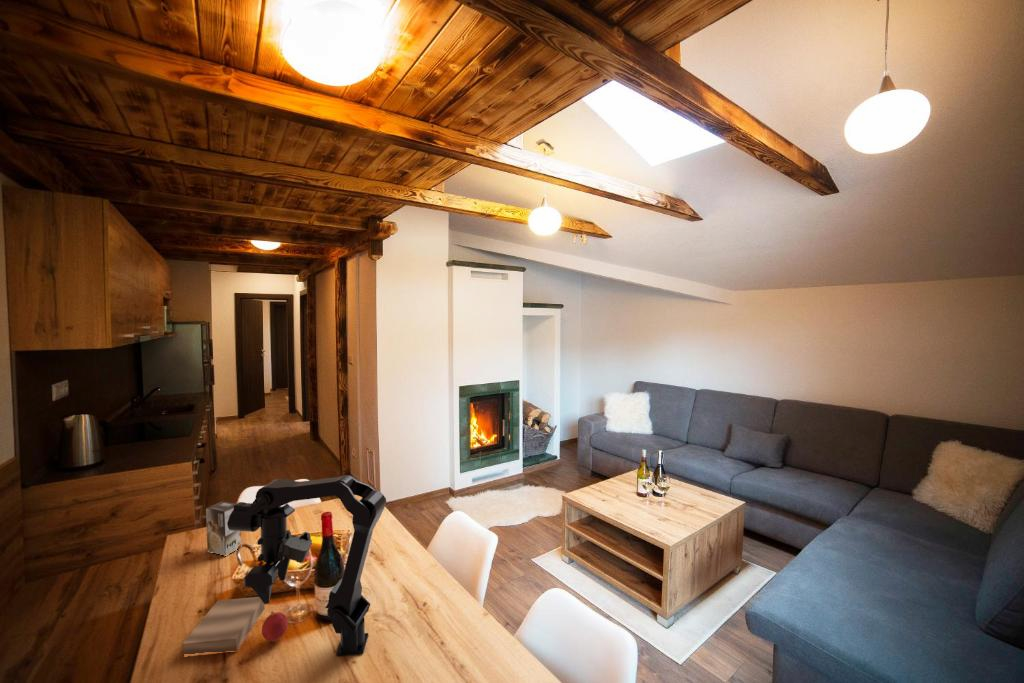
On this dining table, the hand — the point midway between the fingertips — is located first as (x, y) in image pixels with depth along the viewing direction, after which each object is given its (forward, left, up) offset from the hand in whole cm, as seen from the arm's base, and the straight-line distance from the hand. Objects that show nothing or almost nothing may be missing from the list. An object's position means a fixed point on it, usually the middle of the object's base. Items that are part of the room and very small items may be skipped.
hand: (275, 591), depth 107 cm
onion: (0, 0, -13) cm, 13 cm away
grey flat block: (+5, +14, -13) cm, 20 cm away
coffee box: (+47, +36, -13) cm, 61 cm away
